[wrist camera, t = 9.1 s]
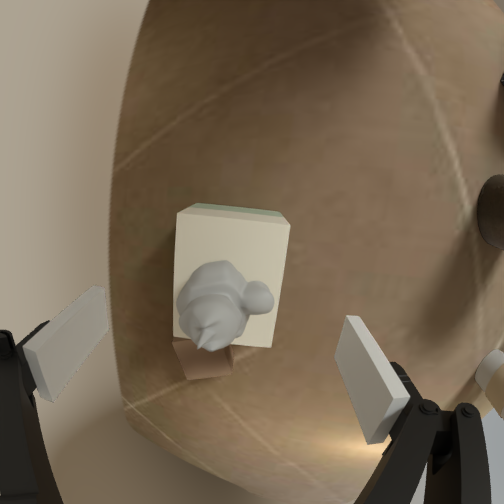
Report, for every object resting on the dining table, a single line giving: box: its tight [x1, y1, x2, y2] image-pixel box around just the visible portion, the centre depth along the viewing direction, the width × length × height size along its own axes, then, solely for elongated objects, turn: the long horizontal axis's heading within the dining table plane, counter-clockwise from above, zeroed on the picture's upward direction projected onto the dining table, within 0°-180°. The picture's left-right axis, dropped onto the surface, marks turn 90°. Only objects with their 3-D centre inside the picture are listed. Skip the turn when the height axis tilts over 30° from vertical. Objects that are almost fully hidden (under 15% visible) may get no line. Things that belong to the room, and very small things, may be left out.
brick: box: [172, 337, 234, 380], centre depth 30 cm, size 5×5×4 cm
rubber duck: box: [176, 260, 274, 352], centre depth 18 cm, size 5×7×8 cm
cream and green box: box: [173, 203, 290, 348], centre depth 25 cm, size 10×8×8 cm
